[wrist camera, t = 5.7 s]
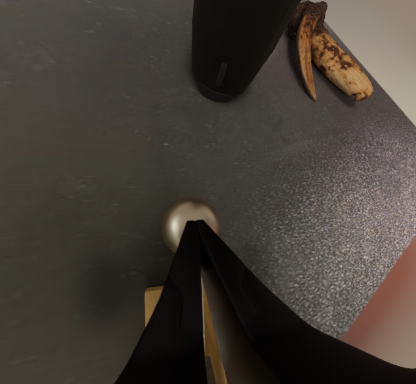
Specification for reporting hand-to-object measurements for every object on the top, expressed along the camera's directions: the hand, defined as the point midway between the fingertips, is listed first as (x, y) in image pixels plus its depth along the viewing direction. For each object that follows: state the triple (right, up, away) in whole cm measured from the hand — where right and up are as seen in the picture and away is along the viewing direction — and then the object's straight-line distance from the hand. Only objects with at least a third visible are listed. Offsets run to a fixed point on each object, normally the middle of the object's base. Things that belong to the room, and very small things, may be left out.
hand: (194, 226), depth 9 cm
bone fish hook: (+17, +22, +20) cm, 34 cm away
